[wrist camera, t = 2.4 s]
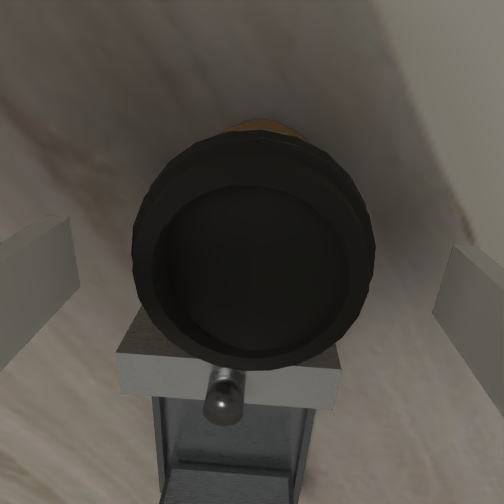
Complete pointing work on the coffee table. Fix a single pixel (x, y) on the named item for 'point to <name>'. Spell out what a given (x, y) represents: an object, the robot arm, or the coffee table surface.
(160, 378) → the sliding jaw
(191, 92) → the coffee table surface
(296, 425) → the base
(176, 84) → the coffee table surface
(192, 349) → the coffee cup
